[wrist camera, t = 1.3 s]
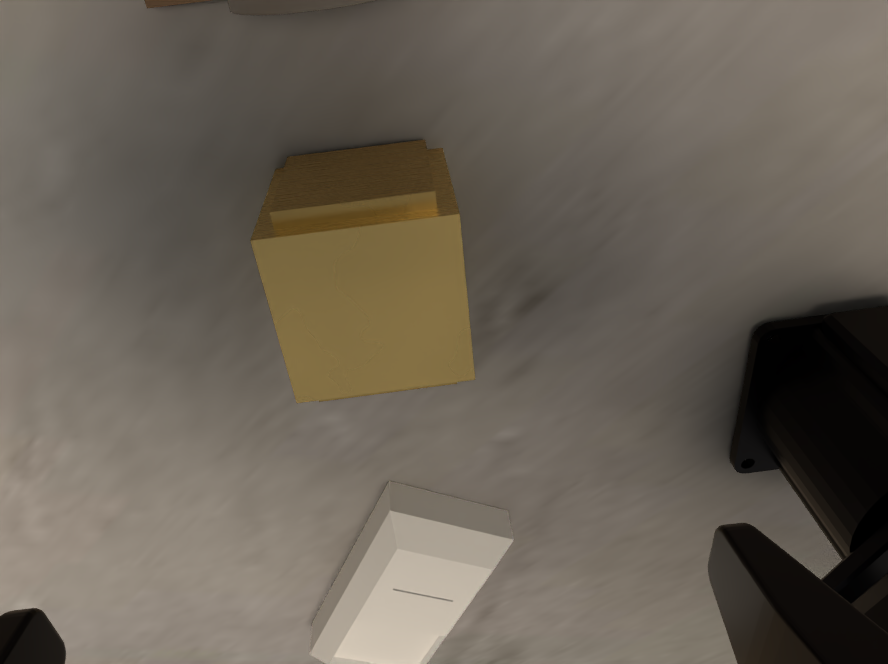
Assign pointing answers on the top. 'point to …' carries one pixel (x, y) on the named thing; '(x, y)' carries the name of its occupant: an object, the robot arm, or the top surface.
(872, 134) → the top surface
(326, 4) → the pipe cradle
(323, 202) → the yellow hollow block
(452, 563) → the soap bar
